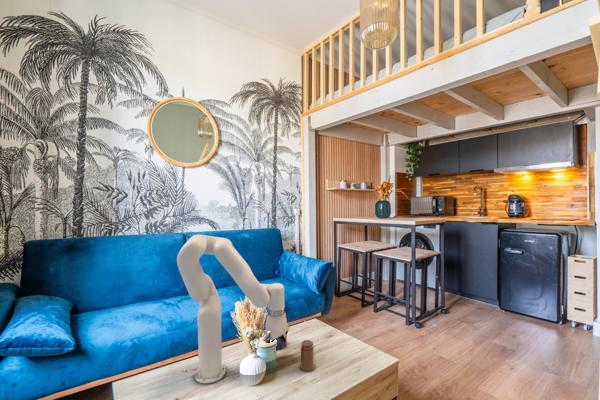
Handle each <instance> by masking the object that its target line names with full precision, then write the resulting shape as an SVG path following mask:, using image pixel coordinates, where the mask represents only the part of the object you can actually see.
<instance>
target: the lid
mask: <svg viewBox="0 0 600 400" xmlns="http://www.w3.org/2000/svg"><path fill="white" fill-rule="evenodd" d="M276 340H277V346H276V351H275V352H279V351H281V350H284V340H283V339H281V338H276Z"/></svg>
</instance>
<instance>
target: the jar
mask: <svg viewBox="0 0 600 400" xmlns="http://www.w3.org/2000/svg"><path fill="white" fill-rule="evenodd" d="M300 345H301V346H300V369H301V370H302V371H304V372H311V371H313V370H314V368H315V355H314V354H315V347H314V342H313V341H312V340H310V339H304V340H302V341H301V343H300Z"/></svg>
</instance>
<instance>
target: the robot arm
mask: <svg viewBox="0 0 600 400" xmlns="http://www.w3.org/2000/svg"><path fill="white" fill-rule="evenodd" d="M203 255H211V256H214V257H215V258H216V260H217V261H218V263H219V264H221V266H222V267H223V268H224V270H225V271H226V272H227V273H228V274H229V275H230V277H231V278H232V279H233V281H234V282H235V284H237V286H238V287H239V288H240V290H241V291H242V293H243V294H244V295H245V297H247V299H248V300H249V302H251V304H252V305H253V306H254V307H256V308H259V309H263V308H266V307H267V313H268V314H267V315H266V319H265V328H264V329H265V330H264V332H265V333H264V334H265V335H264V337H263V339H262V341H263V342H264V343H265V344H267V343H270V340H272V341H271V342H273V341H274V340H275V339H276V338H278V337H280V336H281V337H280V338H281V339H283V340H284V348H286V346H287V344H286V339H285V338H286V337H287V336H286V335H288V332H289V330H290V326H289V325H288V321H287V315H286V314H287V313H286V310H285V309H286V305H285V286H284V285H283V283H279V282H273V283H260V282H259V280H258V279H257V278H256V276H255V275H254V273H253V271H252V269H251V267H250V266H249V264H248V263H247V262H246V260H245V259H244V258H243V257H242V255H241V254H240V253H239V251H238V250H237V249H236V248H235V247H234V245H233V242H232V241H231V240H230V239H229V238H225V237H220V236H212V235H204V234H194V235H191V237H189V238H188V240H187V241H186V242H185V243H184V244H183V246H181V248H180V250H179V251H178V253H177V257H176V265H177V268H178V271H179V273H180V276H181V278H182V281H183V283H184V285H185V288H186V290H187V292H188V295H189V297H190V299H191V300H193V301H194V302H196V303H197V304H198V310H197V317H196V319H197V320H196V321H197V343H198V344H197V345H198V346H197V348H198V350H197V351H198V353H197V355H198V361H197V365H195V366H190V367H187V369H186V370H187V372H186V374H189V376H193V375H194V380H195V381H196V382H197V383H200V384H212V383H215V382H217V381H219V380H221V379H222V378H224V376H225V374H226V372H227V371H226V366H225V365H224V364H223V354H222V353H223V349H222V347H223V346H222V345H223V344H222V341H223V340H222V300H221V298H220V295H219V293H218V290H217V288H216V286H215V284H214V281H213V279H212V278H211V277H210V275H209V274H207V273H205V272H204V270H203V267H202V264H201V263H200V258H201V257H202V256H203ZM287 338H288V337H287ZM284 348H283V349H284Z"/></svg>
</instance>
